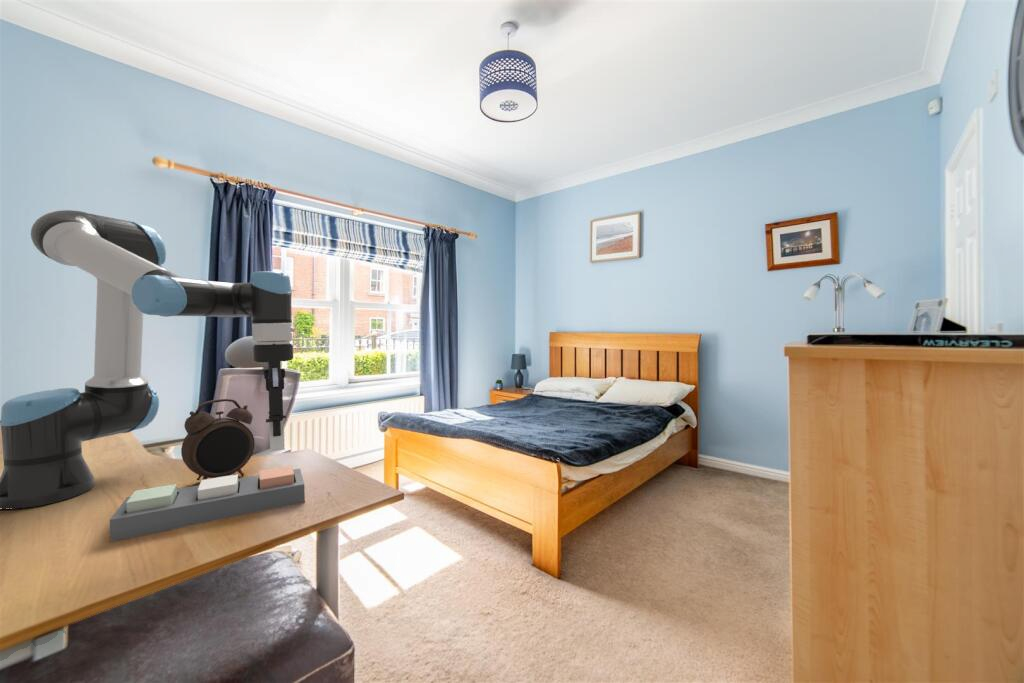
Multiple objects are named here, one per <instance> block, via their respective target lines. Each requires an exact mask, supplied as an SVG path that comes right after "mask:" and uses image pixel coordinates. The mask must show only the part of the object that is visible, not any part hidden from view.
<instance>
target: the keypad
mask: <svg viewBox="0 0 1024 683" xmlns="http://www.w3.org/2000/svg"><path fill="white" fill-rule="evenodd" d="M293 472H294V483H290V484H285V485H279V486H274V487H268V488H263V489H260V474H259V475H253V476H247V477H241V478H238V493H235V494H229V495H224V496H218V497H213V498H207V499H202V500H198V488H199V485H200V484H199V485H194V486H188V487H181V488H177V498H176V501H175V503H174V505H168V506H163V507H157V508H152V509H146V510H141V511H135V512H129V513H127V505H126V503H127V501H128V500H129V499H130V497H131V496H127V497H126V498H125V499H124V500H123V501H122V502H121V504H120V506H119V507H118V508H117V509H116V511H115V512H114V514H113V515H112V516H111V517H110V519H109V538H110V543H112V542H111V541H113V542H116V541H115V540H118V541H121V540H126V539H131V538H137V537H142V536H146V535H151V534H155V533H161V532H165V531H172V530H175V529H176V530H177V529H181V528H184V527H190V526H196V525H200V524H205V523H209V522H215V521H221V520H224V519H229V518H230V519H231V518H235V517H238V516H244V515H248V514H254V513H259V512H264V511H268V510H273V509H279V508H284V507H288V505H289V506H293V504H294V505H298V504H297V503H299V504H303V503H305V502H306V501H305V498H306V497H305V492H306V491H305V481H304V478H303V475H302V471H301V468H297V469H293ZM302 502H303V503H302Z"/></svg>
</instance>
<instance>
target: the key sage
mask: <svg viewBox="0 0 1024 683" xmlns="http://www.w3.org/2000/svg"><path fill="white" fill-rule="evenodd" d="M177 489H178V485H177V483H175V484H168V485H162V486H156V487H149V488H143V489H137V490H134V492H133V493H132V495H131V496H129V497H130V499H129V500H128V501H127V503H126V505H127V513H129V512H135V511H141V510H146V509H152V508H157V507H163V506H168V505H174V503H175V501H176V498H177Z"/></svg>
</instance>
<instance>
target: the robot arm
mask: <svg viewBox="0 0 1024 683" xmlns="http://www.w3.org/2000/svg"><path fill="white" fill-rule="evenodd" d="M30 239H31V240H32V243H33V246H35V248H36V249H37V251H39V252H40V253H41V254H42V255H44V256H45V257H47V258H49V259H51V260H53V261H55V262H56V263H59V264H60V265H64V266H69V267H77V268H79V269H80V270H83V271H84V272H86V273H89V274H90V275H91V276H93V277H94V278H95V279H96V283H97V284H96V305H95V306H96V307H95V309H96V310H95V312H96V313H95V334H94V336H95V338H94V365H93V366H94V369H93V370H94V371H93V376H92V377H90V379H88V380H86V381H85V383H84V391H83V392H80V391H79V389H77V388H76V387H68V388H67V387H66V388H64V387H63V388H57V389H48V390H42V391H41V390H40V391H36V392H31V393H26V394H24V395H19V396H15V397H13V398H11V399H7V401H5V402H4V403H3V404H2V407H1V411H0V412H1V414H0V427H1V441H2V442H1V443H2V457H3V469H2V473H1V475H0V508H2V509H6V508H9V509H10V508H12V509H11V510H15V509H14V508H22V509H26V507H27V509H28V507H29V508H34V507H39V506H45V505H48V504H49V505H50V504H54V503H57V502H61V501H64V500H69V499H71V498H74V497H78V496H80V495H83V494H85V493H87V492H88V491H90V490H92V489H93V488H94V486H95V477H94V474H93V473H92V471H91V469H90V467H89V466H88V464H87V461H86V460H85V458H84V456H83V448H82V446H83V445H82V444H83V442H85V441H86V442H87V441H91V440H97V439H101V438H105V437H109V436H110V437H111V436H115V435H120V434H127V433H131V432H133V431H136V430H140V429H144V428H146V427H148V425H149V424H151V423H152V422H153V421H154V419H155V418H156V417H157V415H158V412H159V408H160V399H159V395H157V394H158V393H157V391H156V389H155V388H154V387H152V386H151V385H149V380H148V379H146V378H145V377H144V376H142V374H141V372H142V352H143V351H142V350H143V345H142V344H143V329H144V328H143V326H144V314H145V315H149V316H160V317H164V318H166V317H216V318H217V317H218V318H226V319H227V318H229V319H233V318H240V317H241V318H242V317H252V321H251V323H252V324H251V328H252V329H251V333H252V342H254V343H255V344H254V346H253V347H252V350H253V361H254V362H256V363H267V365H268V366H267V367H268V368H267V369H263V377H264V379H265V390H266V391H267V392H268V418H266V419H265V422H266V423H268V426H269V430H268V431H269V449H270V450H269V451H270V452H275V451H282V450H285V427H284V426H285V425H284V419H287V415H286V414H284V402H283V400H284V399H283V397H284V396H283V390H284V389H285V377H286V369H285V368H281V367H282V366H281V362H288V361H292V360H293V359H294V346H293V344H292V343H290V342H292V341H293V333H294V332H296V327H293V325H292V324H293V318H292V317H293V316H292V292H293V291H292V287H291V278H290V276H289V275H288V274H287V273H284V272H280V271H271V270H267V271H266V270H263V271H261V270H260V271H253V272H252V273H250V279H249V282H225V281H216V280H205V279H197V278H189V277H188V278H186V277H182V276H180V275H177V274H176V273H173V272H172V271H169V270H168V269H165V268H164V267H163V266H164V265H163V264H165V262H166V258H167V257H166V256H167V251H166V250H167V249H166V245H165V242H164V241H163V239H162V236H161V235H159V233H158V232H157V231H156V230H155V229H154V228H152V227H150V226H149V225H146V224H142V223H138V222H135V221H130V220H125V219H124V220H123V219H119V218H114V217H109V216H104V215H97V214H93V213H88V212H85V211H80V210H72V209H70V210H69V209H65V210H64V209H63V210H55V211H52V212H48V213H46V214H44V215H42V216H40V217H39V218H37V219H36V220H35V221H34V223H33V224H32V226H31V229H30Z"/></svg>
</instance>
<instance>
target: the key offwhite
mask: <svg viewBox="0 0 1024 683" xmlns="http://www.w3.org/2000/svg"><path fill="white" fill-rule="evenodd" d="M238 479H239V474H237V473H236V474H232V475H229V476H224V477H217V478H207V479H205V480H202V479H200V483H199V488H198V500H202V499H207V498H213V497H218V496H224V495H229V494H235V493H238Z"/></svg>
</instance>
